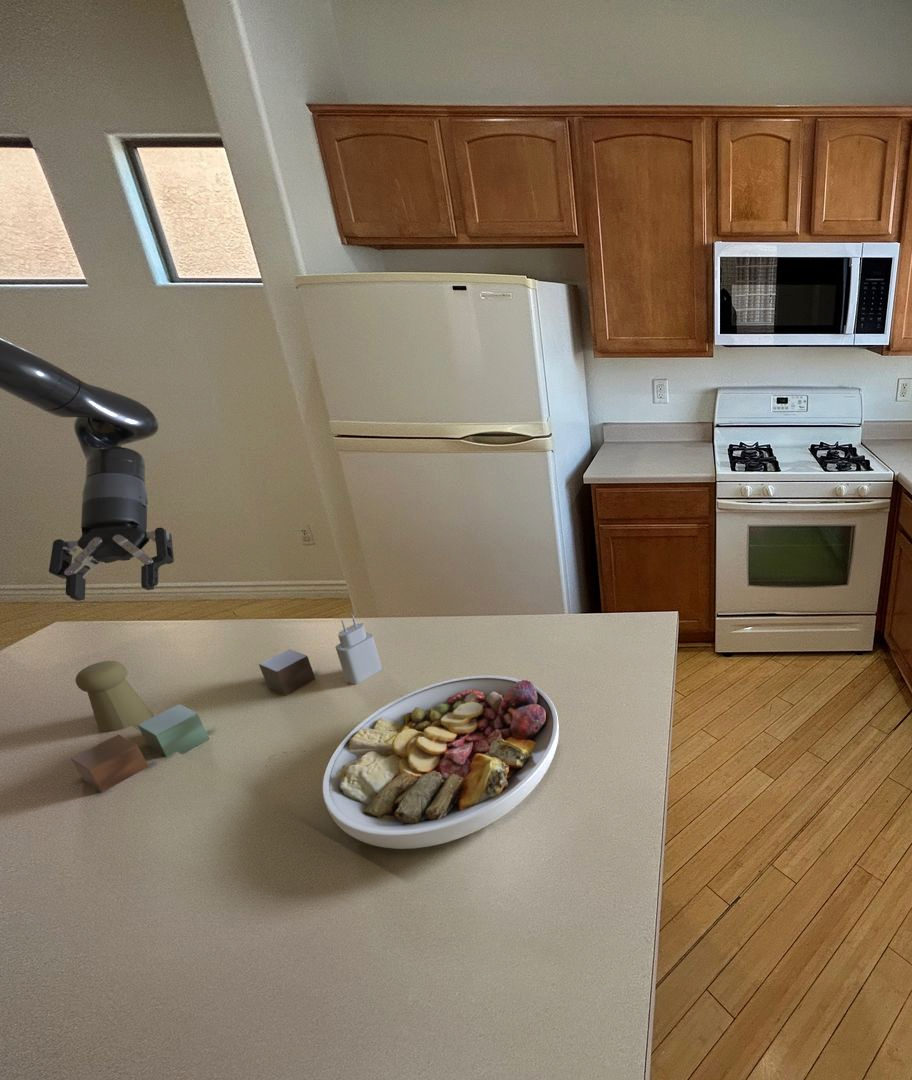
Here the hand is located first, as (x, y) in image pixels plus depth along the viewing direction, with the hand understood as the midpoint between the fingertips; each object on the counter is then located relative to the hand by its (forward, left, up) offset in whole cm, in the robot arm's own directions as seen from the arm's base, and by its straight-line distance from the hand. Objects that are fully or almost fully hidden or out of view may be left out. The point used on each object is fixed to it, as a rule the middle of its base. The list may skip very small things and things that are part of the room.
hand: (113, 593), depth 90 cm
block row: (-2, -22, -18) cm, 28 cm away
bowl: (+8, -63, -18) cm, 66 cm away
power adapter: (+17, -31, -18) cm, 39 cm away
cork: (-7, -9, -18) cm, 21 cm away
